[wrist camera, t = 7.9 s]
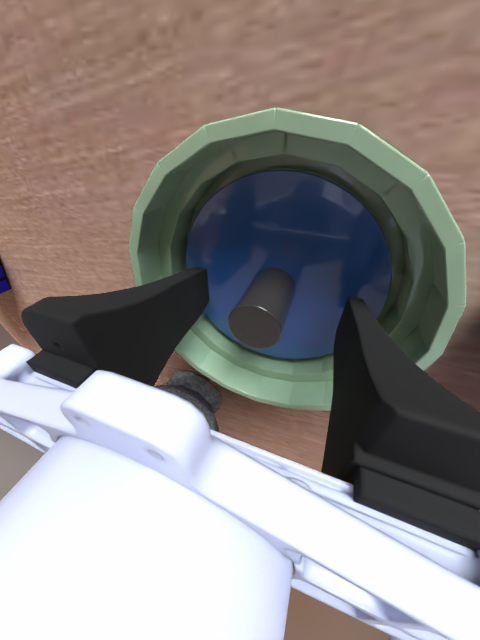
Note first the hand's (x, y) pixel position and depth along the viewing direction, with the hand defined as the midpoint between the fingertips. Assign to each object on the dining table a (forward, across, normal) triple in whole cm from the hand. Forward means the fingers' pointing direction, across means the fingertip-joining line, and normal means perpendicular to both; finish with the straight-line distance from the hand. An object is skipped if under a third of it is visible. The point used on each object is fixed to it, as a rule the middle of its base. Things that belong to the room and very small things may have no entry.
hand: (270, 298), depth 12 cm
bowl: (+2, 0, 0) cm, 2 cm away
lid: (+2, 0, 0) cm, 2 cm away
